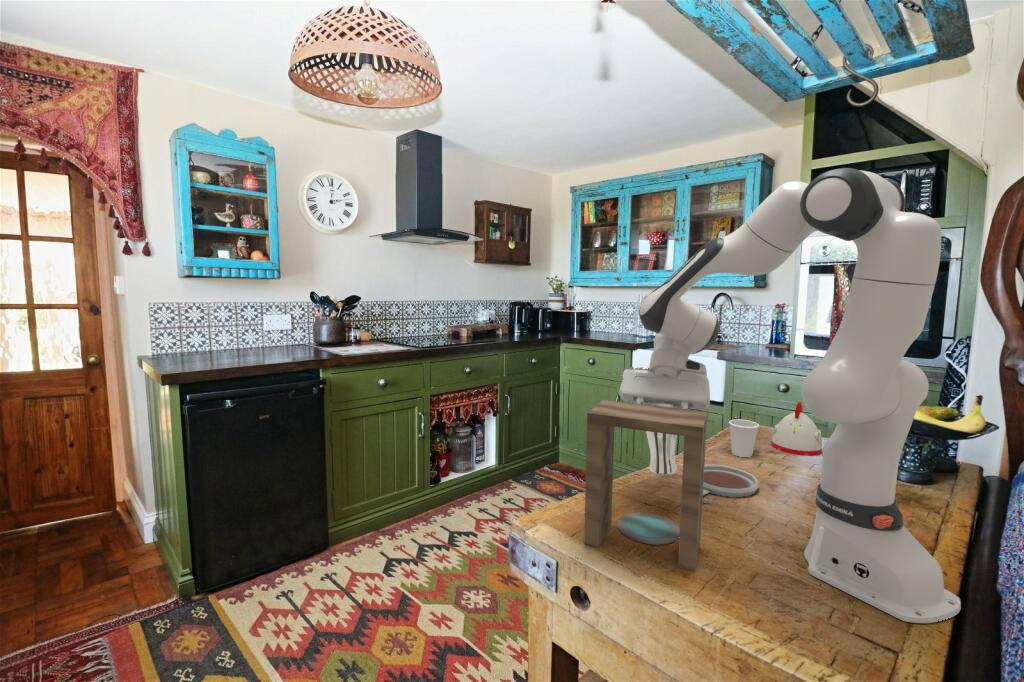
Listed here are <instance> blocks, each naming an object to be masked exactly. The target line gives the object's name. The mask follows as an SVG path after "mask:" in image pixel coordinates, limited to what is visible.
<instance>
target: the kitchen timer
mask: <svg viewBox="0 0 1024 682" xmlns="http://www.w3.org/2000/svg"><path fill="white" fill-rule="evenodd" d="M822 442H823V439H822V433H821V429H818V427H817V425H816V424H815V422H814V421H813V420H812V419H811V418H810V417H809V416H808V415H806V414H805V413H803V404H802V402H800V401H798V402H797V403H796V406H795V409H794V412H790V413H789V414H787V415H785V416H784V417H783V418H782V419H781V420H780V421H779V422H778V423H776V424H774V429H773V431H772V438H771V447H772V446H773V447H774V448H773V447H772V448H773V449H775V448H776V449H775V450H777V451H779V450H780V451H779V452H782V453H786V454H788V455H789V454H790V455H794V456H803V457H816V456H819V455H822V454H823V446H822V445H823V443H822Z"/></svg>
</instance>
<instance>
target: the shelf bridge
mask: <svg viewBox="0 0 1024 682" xmlns="http://www.w3.org/2000/svg"><path fill="white" fill-rule="evenodd" d="M708 412H709V411H708V410H707V411H706V410H701V409H692V408H688V409H682V408H681V407H676V408H673V407H663V406H654V405H647V404H646V403H644V404H637V402H628V401H616V400H607V399H603V400H601V401H600V402H599V403H598V404H597V405H595V406H594V407H592V409H590V410H589V411H588V412H586V414H587V415H586V445H585V446H586V452H585V454H586V456H585V488H584V489H585V491H584V492H585V493H584V494H585V495H584V497H585V498H584V534H583V535H584V536H583V538H584V539H583V544H584V545H586V544H587V545H586V546H590V547H595V548H600V546H601V545H602V542H603V541H604V539H605V537H606V535H607V533H608V532H609V530H610V528H611V526H612V522H613V521H612V518H613V517H612V515H613V511H612V510H613V482H614V455H615V454H614V451H615V450H614V449H615V448H614V447H615V428H621V429H629V430H634V431H636V430H637V431H643V432H646V431H650V432H657V433H665V434H672V435H677V436H681V437H683V438H684V439H683V457H682V459H683V460H682V461H683V462H682V478H681V479H682V480H681V482H682V483H681V490H682V492H681V498H680V521H679V524H680V525H679V526H678V525H677V523H675V522H674V521H672V520H670V519H669V518H666V517H665V516H664V517H663V516H661V515H658V514H654V513H648V512H634V513H628V514H626V515H625V514H624V515H622V516H621V517H620V518H619V519H618V520H617V523H616V526H617V529H618V532H620V533H621V535H623V536H624V537H626V538H628V539H629V538H630V539H629V540H631V539H632V540H631V541H634V542H636V541H637V543H640V542H641V544H644V543H645V545H650V544H652V546H660V545H659V544H665V545H669V544H668V543H670V544H672V543H671V542H673V543H675V542H676V540H677V541H678V540H679V541H678V558H677V559H678V560H677V561H678V562H677V564H678V565H677V568H678V569H679V568H680V569H684V570H687V571H692V572H696V570H697V563H698V560H699V559H698V558H699V554H698V553H699V552H700V548H701V535H702V534H701V533H702V517H703V516H702V514H703V503H702V500H703V499H704V498H703V496H704V495H703V481H704V465H705V459H706V443H707V440H706V439H707V424H708V415H709V413H708ZM679 537H680V538H679ZM674 541H675V542H674Z"/></svg>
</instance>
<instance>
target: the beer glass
mask: <svg viewBox="0 0 1024 682" xmlns="http://www.w3.org/2000/svg"><path fill="white" fill-rule="evenodd" d="M646 405H654V406H663V407H673V408H677V407H676V405H674V404H668V403H653V404H647V403H646ZM645 432H646V437H647V442H648V446H649V452H650V460H649V467H648V468H649V469H648V470H649V472H651V473H653V474H656V475H662V476H663V475H673V474H676V473H677V472H678V467H677V463H676V458H675V456H676V455H675V454H676V453H675V451H676V444H677V437H678V435H672V434H665V433H657V432H650V431H645Z"/></svg>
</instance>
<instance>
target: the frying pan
mask: <svg viewBox="0 0 1024 682" xmlns="http://www.w3.org/2000/svg"><path fill="white" fill-rule="evenodd" d="M758 488H760V483H759V480H758V478H757V477H755V476H754V475H753V474H751V473H750V472H747V471H745V470H742V469H740V468H737V467H733V466H728V465H722V464H704V481H703V496H705V495H707V494H712V495H715V494H716V496H720V495H721V496H723V497H726V496H729V497H728V498H743V497H742V496H746V497H749V496H748V495H750V496H752V495H751V494H753V495H754V494H755V493H756V492H757V490H758ZM681 493H682V489H681ZM721 496H720V497H721ZM703 503H704V504H710V505H713V504H714V501H713V499H706V498H703V500H702V504H703Z"/></svg>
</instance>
